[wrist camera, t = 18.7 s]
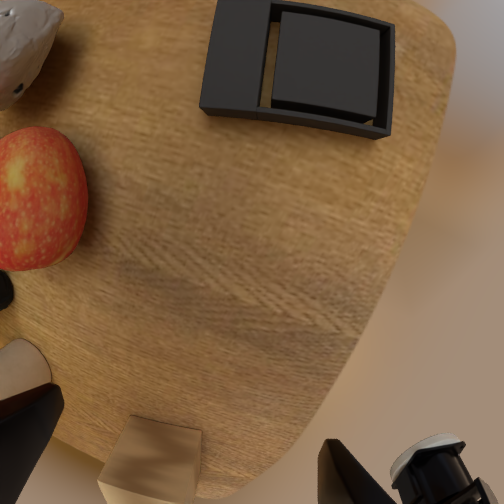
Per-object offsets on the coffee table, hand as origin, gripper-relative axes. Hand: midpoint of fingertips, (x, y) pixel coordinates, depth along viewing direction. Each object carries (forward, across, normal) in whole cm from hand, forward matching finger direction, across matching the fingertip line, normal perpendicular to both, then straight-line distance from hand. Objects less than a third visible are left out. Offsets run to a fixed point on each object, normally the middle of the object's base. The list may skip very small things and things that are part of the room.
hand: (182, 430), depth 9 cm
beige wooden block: (+12, +4, +16) cm, 20 cm away
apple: (+12, +12, -5) cm, 18 cm away
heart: (+12, +16, -15) cm, 25 cm away
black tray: (+12, -2, -14) cm, 19 cm away
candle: (+12, +18, +11) cm, 24 cm away
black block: (+12, -4, -15) cm, 19 cm away
